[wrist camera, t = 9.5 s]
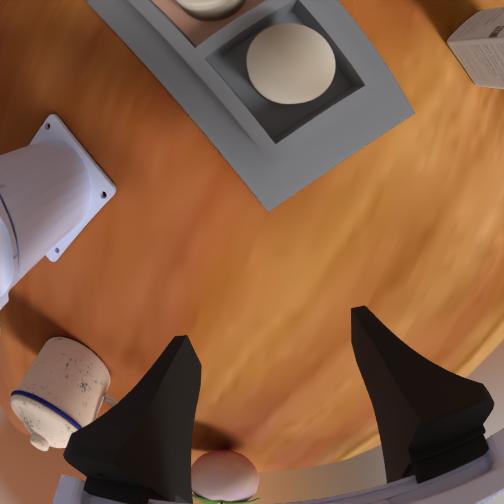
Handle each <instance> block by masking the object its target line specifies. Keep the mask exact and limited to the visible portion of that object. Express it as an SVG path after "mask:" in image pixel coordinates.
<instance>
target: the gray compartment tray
mask: <svg viewBox="0 0 504 504" xmlns="http://www.w3.org/2000/svg"><path fill="white" fill-rule="evenodd" d="M87 3H88V4H89V5H90V6H91V7H92V8H93V10H94V11H95V12H96V13H97V14H98V15H99V16H100V17H101V18H102V19H103V20H104V21H105V22H106V23H107V24H108V25H109V26H110V27H111V28H112V30H113V31H114V32H115V33H116V34H117V35H118V36H119V37H120V38H121V39H122V40H123V41H124V42H125V44H126V45H127V46H128V47H129V48H130V49H131V50H132V51H133V52H134V53H135V54H136V56H137V57H138V58H139V59H140V60H141V61H142V62H143V63H144V64H145V66H146V67H147V68H148V69H149V70H150V71H151V72H152V73H153V75H154V76H155V77H156V78H157V79H158V80H159V81H160V82H161V84H162V85H163V86H164V87H165V88H166V89H167V90H168V92H169V93H170V94H171V95H172V96H173V97H174V98H175V100H176V101H177V102H178V103H179V104H180V105H181V107H182V108H183V109H184V110H185V111H186V112H187V114H188V115H189V116H190V117H191V118H192V119H193V121H194V122H195V123H196V124H197V125H198V126H199V128H200V129H201V130H202V131H203V132H204V134H205V135H206V136H207V137H208V138H209V140H210V141H211V142H212V143H213V144H214V146H215V147H216V148H217V149H218V150H219V152H220V153H221V154H222V155H223V156H224V158H225V159H226V160H227V161H228V163H229V164H230V165H231V166H232V167H233V169H234V170H235V171H236V172H237V174H238V175H239V176H240V177H241V179H242V180H243V181H244V182H245V183H246V185H247V186H248V187H249V188H250V190H251V191H252V192H253V193H254V195H255V196H256V197H257V198H258V200H259V201H260V202H261V203H262V205H263V206H264V207H265V209H266V210H267V211H268V212H269V211H271V210H272V209H274V208H275V207H276V206H278V205H279V204H281V203H282V202H284V201H285V200H287V199H288V198H289V197H291V196H292V195H294V194H295V193H297V192H298V191H300V190H301V189H303V188H304V187H305V186H307V185H308V184H310V183H311V182H313V181H314V180H316V179H317V178H319V177H320V176H322V175H323V174H325V173H326V172H327V171H329V170H330V169H332V168H333V167H335V166H336V165H338V164H339V163H341V162H342V161H344V160H345V159H347V158H348V157H350V156H351V155H353V154H354V153H356V152H357V151H359V150H360V149H362V148H363V147H365V146H366V145H368V144H369V143H371V142H372V141H374V140H375V139H377V138H378V137H380V136H381V135H383V134H384V133H386V132H387V131H389V130H390V129H392V128H394V127H395V126H397V125H398V124H400V123H401V122H403V121H404V120H406V119H407V118H409V117H410V116H412V115H414V114H415V112H414V110H413V109H412V107H411V105H410V103H409V101H408V100H407V98H406V96H405V94H404V93H403V91H402V89H401V88H400V86H399V84H398V83H397V81H396V79H395V78H394V76H393V74H392V73H391V71H390V70H389V68H388V67H387V65H386V64H385V62H384V61H383V59H382V58H381V56H380V55H379V53H378V52H377V50H376V49H375V47H374V46H373V45H372V43H371V42H370V40H369V39H368V38H367V36H366V35H365V34H364V32H363V31H362V30H361V28H360V27H359V26H358V24H357V23H356V22H355V21H354V19H353V18H352V17H351V16H350V14H349V13H348V12H347V11H346V9H345V8H344V7H343V6H342V5H341V4H340V2H339V1H338V0H245V2H244V4H243V6H242V7H241V9H240V10H239V11H238V12H237V13H235V14H234V15H232V16H231V17H229V18H226V19H224V20H221V21H215V22H204V21H199V20H196V19H194V18H192V17H190V16H189V15H188V14H186V12H185V11H184V10H183V9H182V8H181V6H180V5H179V4H178V3H177V2H176V0H88V1H87ZM283 23H294V24H300V25H304V26H306V27H309V28H311V29H313V30H315V31H316V32H318V33H319V34H320V35H321V36H322V37H323V38H324V39H325V40H326V41H327V42H328V44H329V45H330V47H331V49H332V51H333V54H334V58H335V74H334V77H333V80H332V82H331V84H330V86H329V87H328V88H327V89H326V90H325V91H324V92H323V93H322V94H321V95H320V96H318V97H316V98H315V99H313V100H310V101H307V102H303V103H296V104H276V103H273V102H270V101H268V100H266V99H264V98H263V97H261V96H260V95H259V94H258V93H257V92H256V91H255V89H254V88H253V86H252V84H251V82H250V79H249V74H248V69H247V53H248V50H249V47H250V45H251V43H252V41H253V40H254V39H255V37H256V36H257V35H258V34H259V33H261V32H262V31H263V30H265V29H267V28H269V27H271V26H274V25H277V24H283Z"/></svg>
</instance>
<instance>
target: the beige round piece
mask: <svg viewBox="0 0 504 504" xmlns="http://www.w3.org/2000/svg"><path fill="white" fill-rule="evenodd" d="M247 69H248V74H249V79H250V82H251V84H252V86H253V88H254V89H255V91H256V92H257V93H258V94H259V95H260V96H261V97H263V98H264V99H266V100H268V101H270V102H273V103H276V104H296V103H303V102H307V101H310V100H313V99H315V98H316V97H318V96H320V95H321V94H322V93H323V92H324V91H325V90H326V89H327V88H328V87H329V86H330V84H331V82H332V80H333V77H334V74H335V58H334V54H333V51H332V49H331V47H330V45H329V44H328V42H327V41H326V40H325V39H324V38H323V37H322V36H321V35H320V34H319V33H318V32H316V31H315V30H313V29H311V28H309V27H306V26H304V25H300V24H294V23H283V24H277V25H274V26H271V27H269V28H267V29H265V30H263V31H262V32H261V33H259V34H258V35H257V36H256V37H255V39H254V40H253V41H252V43H251V45H250V47H249V50H248V53H247Z"/></svg>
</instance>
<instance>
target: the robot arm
mask: <svg viewBox="0 0 504 504" xmlns="http://www.w3.org/2000/svg"><path fill="white" fill-rule="evenodd" d="M48 124H50V128H48ZM103 192H105V193H106V194H107V197H105V196H103ZM115 192H116V187H115V185H114V184H113V183H112V181H111V180H110V179H109V178H108V177H107V176H106V174H105V173H104V172H103V171H102V170H101V169H100V167H99V166H98V165H97V164H96V163H95V161H94V160H93V159H92V158H91V157H90V155H89V154H88V153H87V152H86V150H85V149H84V148H83V147H82V146H81V144H80V143H79V142H78V141H77V139H76V138H75V137H74V136H73V134H72V133H71V132H70V131H69V129H68V128H67V127H66V126H65V124H64V123H63V122H62V121H61V119H60V118H59V117H58V116H57V115H56V114H52V115H49V116H48V118H47V119H46V120H45V122H44V123H43V125H42V126H41V128H40V129H39V130H38V132H37V133H36V135H35V136H34V138H33V140H32V141H31V143H30V144H29V146H26V147H23V148H20V149H17V150H14V151H11V152H8V153H5V154H3V155H0V310H1V309H2V308H3V306H4V305H5V304H6V303H7V302H8V301H9V298H8V292H9V290H10V289H11V288H12V287H13V286H14V285H15V284H16V283H17V282H18V281H19V280H20V279H21V278H22V277H23V276H24V275H25V274H26V273H27V272H28V271H29V270H30V269H31V268H32V267H33V266H34V265H35V264H36V263H37V262H38V261H40V260H41V259H42V258H43V257H44V256H45V255H46V256H47V257H48V258H49V260H51V261H52V262H55V261H56V260H57V259H58V258H59V257H60V256H61V254H62V253H63V252H64V251H65V249H66V248H67V247H68V246H69V245H70V243H71V242H72V241H73V240H74V239H75V237H76V236H77V235H78V234H79V233H80V232H81V230H82V229H83V228H84V227H85V226H86V225H87V223H88V222H89V221H90V220H91V219H92V218H93V217H94V216H95V215H96V213H97V212H98V211H99V210H100V209H101V208H102V207H103V206H104V205H105V204H106V203H107V202H108V200H109V199H110V198H111V197H112V196H113V195H114V194H115ZM57 248H58V249H59V250H58V249H57ZM0 331H1V326H0ZM351 342H352V346H353V350H354V354H355V358H356V362H357V364H358V367H359V370H360V372H361V375H362V378H363V380H364V383H365V385H366V388H367V391H368V393H369V396H370V399H371V402H372V405H373V408H374V412H375V416H376V420H377V425H378V429H379V434H380V439H381V445H382V450H383V456H384V463H385V470H386V478H387V484H384V485H381V486H377V487H373V488H369V489H365V490H361V491H357V492H352V493H348V494H342V495H337V496H332V497H327V498H321V499H313V500H307V501H298V502H289V503H279V504H484V503H486V502H488V501H489V500H491V499H493V498H494V497H496V496H498V495H500V494H501V493H503V492H504V429H502V430H500V431H498V432H497V433H495V434H493V435H492V436H490V437H489V438H487V439H485V437H484V435H483V434H484V433H485V428H484V426H483V423H484V422H485V421H486V419H487V417H488V416H489V415H490V413H491V411H492V410H493V407H494V401H493V399H492V397H491V395H490V394H489V392H488V391H487V389H486V387H485V386H484V385H483V384H482V383H478V382H475V381H472V380H469V379H466V378H464V377H461V376H459V375H456V374H454V373H452V372H450V371H448V370H446V369H444V368H442V367H440V366H438V365H436V364H434V363H432V362H431V361H429V360H428V359H426V358H424V357H423V356H421V355H420V354H418V353H417V352H416V351H414V350H413V349H412V348H410V347H409V346H408V345H406V344H405V343H404V342H403V341H401V340H400V339H399V338H398V337H397V336H396V335H395V334H393V333H392V332H391V331H390V330H389V329H388V328H387V327H386V326H385V325H384V324H383V323H382V322H381V321H380V320H379V319H378V318H377V317H376V316H375V315H374V314H373V313H372V312H371V311H370V310H369V309H368V308H367V307H366V306H365V305H364V306H360V307H355V308H351ZM200 385H201V363H200V361H199V359H198V357H197V355H196V353H195V351H194V349H193V347H192V345H191V342H190V340H189V338H188V336H187V335H183V336H175V337H174V338H173V339H172V341H171V342H170V343H169V345H168V346H167V347H166V349H165V350H164V351H163V353H162V354H161V355H160V357H159V358H158V359H157V361H156V362H155V363H154V364H153V366H152V367H151V368H150V370H149V371H148V372H147V373H146V374H145V375H144V377H143V378H142V379H141V380H140V381H139V383H138V384H137V385H136V386H135V387H134V388H133V389H132V390H131V391H130V392H129V393H128V394H127V395H126V396H125V397H124V398H123V399H122V400H121V401H119V402H118V403H117V404H116V405H115V406H113V407H112V408H111V409H110V410H109V411H107V412H106V413H105V414H103V415H102V416H100V417H99V418H97V419H96V420H94V421H93V422H91V423H90V424H88V425H86V426H85V427H83V428H81V429H79V430H77V431H75V432H73V433H71V436H70V438H69V441H68V443H67V446H66V449H65V451H64V454H63V456H64V458H65V460H66V461H67V462H68V463H69V464H70V465H72V466H73V467H74V468H76V469H77V470H78V471H80V472H81V473H83V474H84V475H85V476H87V479H86V482H85V481H83V480H81V479H78V478H75V477H72V476H68V475H65V474H62V476H61V478H60V481H59V485H58V488H57V491H56V494H55V497H54V500H53V503H52V504H193V498H192V485H191V444H192V430H193V423H194V418H195V412H196V407H197V402H198V396H199V391H200Z"/></svg>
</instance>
